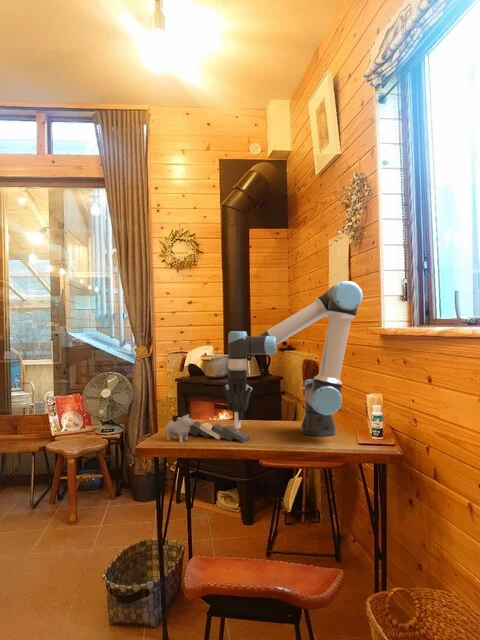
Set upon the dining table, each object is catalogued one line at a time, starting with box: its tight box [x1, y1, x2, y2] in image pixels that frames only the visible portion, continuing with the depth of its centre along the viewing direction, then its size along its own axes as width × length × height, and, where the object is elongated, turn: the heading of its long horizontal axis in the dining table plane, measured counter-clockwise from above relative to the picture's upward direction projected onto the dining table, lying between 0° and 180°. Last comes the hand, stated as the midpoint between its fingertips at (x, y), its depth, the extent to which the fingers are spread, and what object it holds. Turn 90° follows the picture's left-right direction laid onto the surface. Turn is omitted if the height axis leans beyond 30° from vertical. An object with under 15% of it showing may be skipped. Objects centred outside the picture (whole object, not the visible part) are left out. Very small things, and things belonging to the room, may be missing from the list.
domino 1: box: [189, 428, 202, 437], centre depth 193 cm, size 2×5×10 cm
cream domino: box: [199, 422, 224, 440], centre depth 187 cm, size 2×5×10 cm
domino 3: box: [211, 423, 236, 442], centre depth 184 cm, size 2×5×10 cm
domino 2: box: [190, 420, 212, 439], centre depth 189 cm, size 2×5×10 cm
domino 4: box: [222, 424, 250, 443], centre depth 182 cm, size 2×5×10 cm
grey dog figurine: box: [165, 413, 195, 443], centre depth 182 cm, size 5×13×11 cm, turn 57°
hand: (237, 427), depth 181 cm, fingers closed
